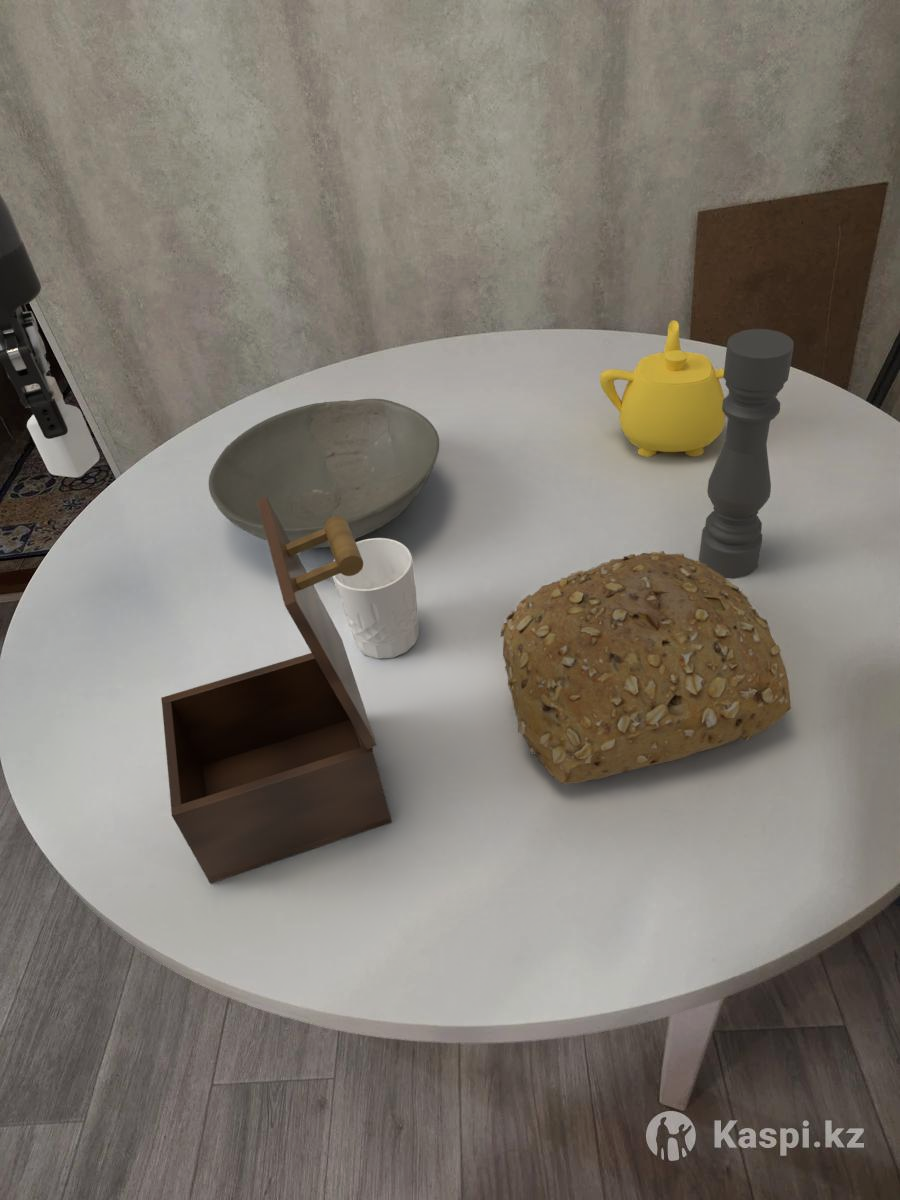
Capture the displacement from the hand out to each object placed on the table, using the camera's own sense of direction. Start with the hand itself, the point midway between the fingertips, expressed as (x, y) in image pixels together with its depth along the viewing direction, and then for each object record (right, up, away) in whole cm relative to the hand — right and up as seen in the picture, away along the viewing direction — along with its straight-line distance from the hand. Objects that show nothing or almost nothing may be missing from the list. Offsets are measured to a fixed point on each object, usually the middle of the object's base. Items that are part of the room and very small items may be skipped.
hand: (55, 421), depth 85 cm
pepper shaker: (+1, -4, +4) cm, 6 cm away
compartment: (+25, -35, -8) cm, 43 cm away
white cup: (+32, -21, +5) cm, 39 cm away
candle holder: (+69, -13, +9) cm, 71 cm away
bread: (+56, -26, -3) cm, 62 cm away
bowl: (+25, -7, +23) cm, 34 cm away
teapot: (+68, +4, +28) cm, 73 cm away
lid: (+28, -20, -20) cm, 40 cm away
